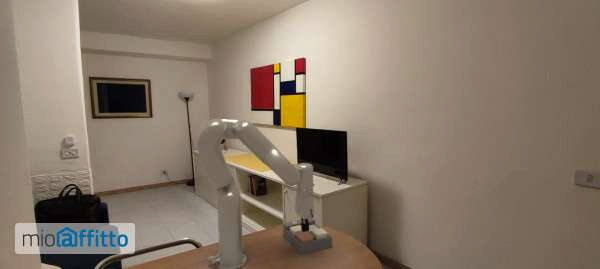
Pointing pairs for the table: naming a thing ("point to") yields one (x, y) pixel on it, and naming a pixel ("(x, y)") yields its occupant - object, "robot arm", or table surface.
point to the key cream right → (319, 233)
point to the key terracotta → (304, 237)
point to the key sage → (312, 228)
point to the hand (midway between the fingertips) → (305, 230)
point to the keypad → (307, 246)
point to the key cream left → (296, 230)
